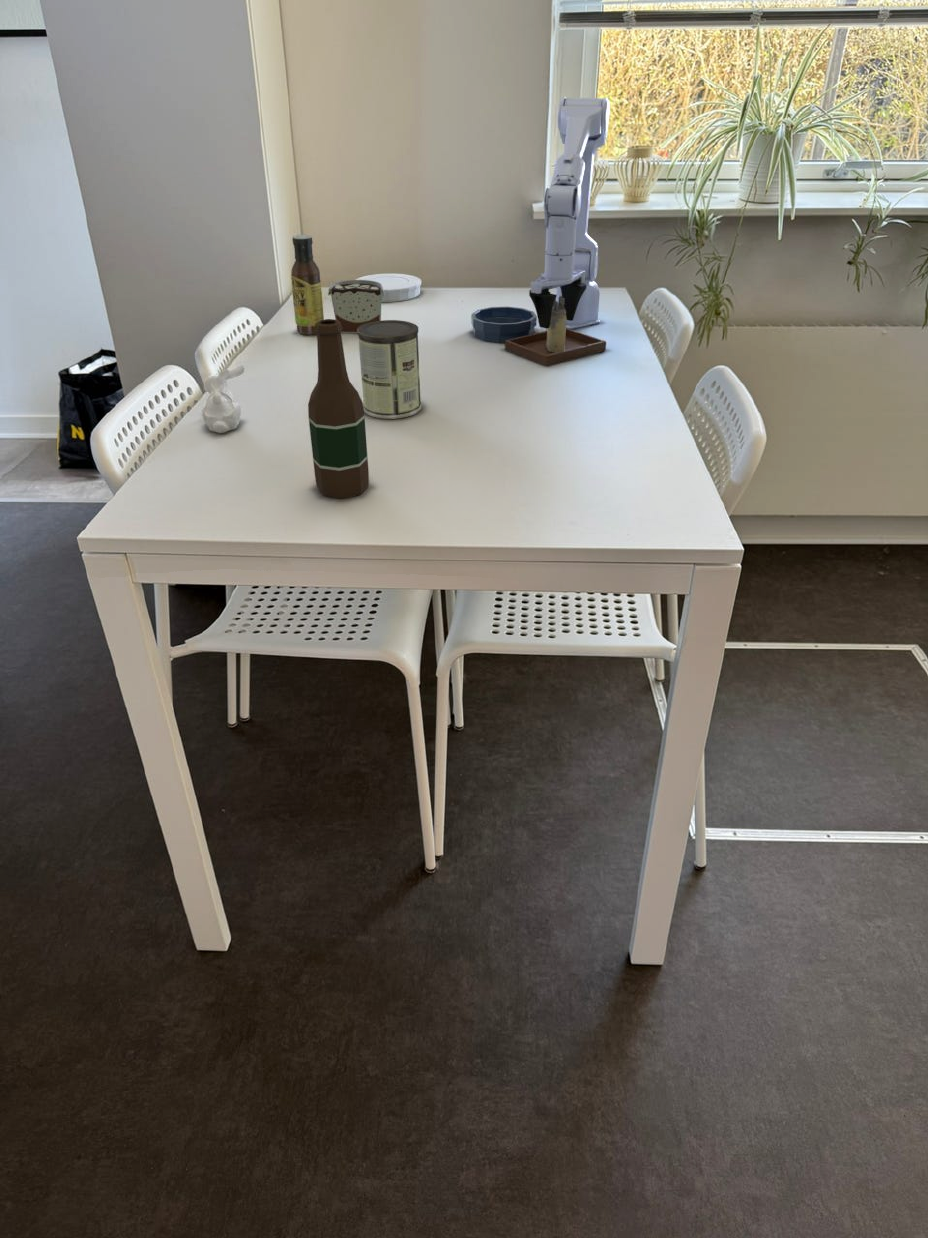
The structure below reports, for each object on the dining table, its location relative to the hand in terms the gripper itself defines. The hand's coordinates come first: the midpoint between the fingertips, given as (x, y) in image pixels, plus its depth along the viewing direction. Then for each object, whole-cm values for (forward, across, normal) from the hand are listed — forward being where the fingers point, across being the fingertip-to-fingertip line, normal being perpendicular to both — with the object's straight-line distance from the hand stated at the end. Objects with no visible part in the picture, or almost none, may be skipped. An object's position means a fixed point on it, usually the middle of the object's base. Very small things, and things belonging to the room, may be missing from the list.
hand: (556, 323), depth 181 cm
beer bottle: (+6, +72, +20) cm, 75 cm away
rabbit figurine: (+6, +70, -14) cm, 71 cm away
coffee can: (+6, +46, +1) cm, 46 cm away
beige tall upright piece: (+5, 0, 0) cm, 5 cm away
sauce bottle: (+6, +27, -48) cm, 55 cm away
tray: (+6, 0, 0) cm, 6 cm away
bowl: (+6, -2, -16) cm, 17 cm away
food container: (+6, +18, -41) cm, 45 cm away
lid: (+6, -6, -61) cm, 61 cm away
